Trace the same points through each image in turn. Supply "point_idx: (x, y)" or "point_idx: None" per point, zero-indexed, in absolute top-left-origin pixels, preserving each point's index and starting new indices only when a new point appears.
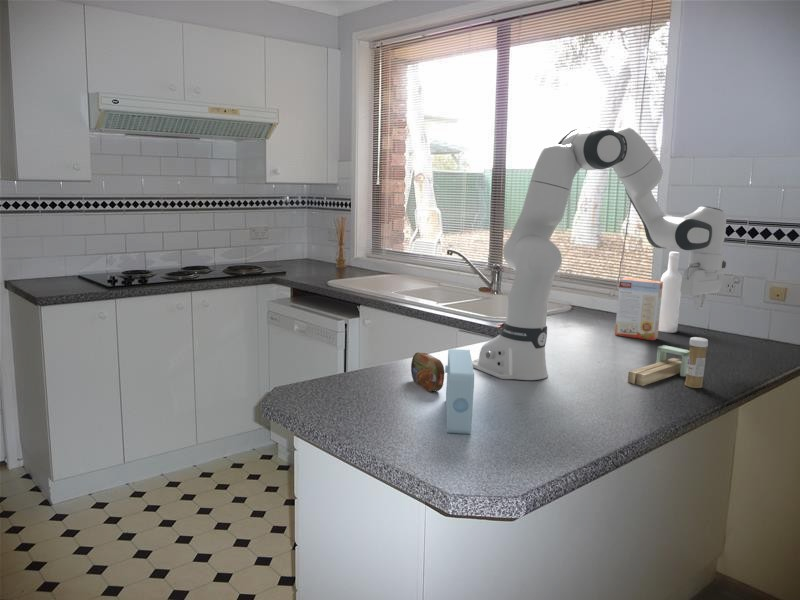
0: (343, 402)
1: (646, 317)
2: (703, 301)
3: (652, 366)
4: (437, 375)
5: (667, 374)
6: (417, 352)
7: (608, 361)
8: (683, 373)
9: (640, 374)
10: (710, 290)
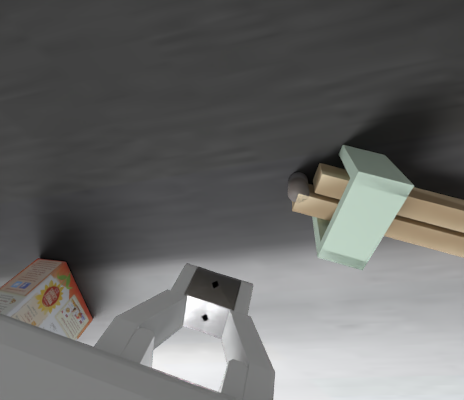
0: None
1: (32, 317)
2: (176, 304)
3: (453, 242)
4: None
5: (430, 194)
6: None
7: (329, 312)
8: (387, 158)
9: None
10: (58, 375)
